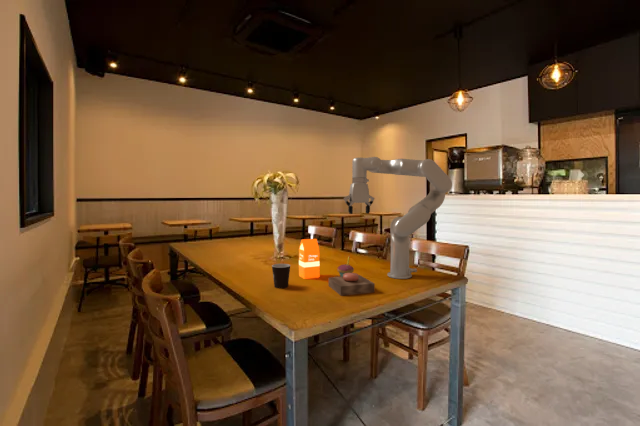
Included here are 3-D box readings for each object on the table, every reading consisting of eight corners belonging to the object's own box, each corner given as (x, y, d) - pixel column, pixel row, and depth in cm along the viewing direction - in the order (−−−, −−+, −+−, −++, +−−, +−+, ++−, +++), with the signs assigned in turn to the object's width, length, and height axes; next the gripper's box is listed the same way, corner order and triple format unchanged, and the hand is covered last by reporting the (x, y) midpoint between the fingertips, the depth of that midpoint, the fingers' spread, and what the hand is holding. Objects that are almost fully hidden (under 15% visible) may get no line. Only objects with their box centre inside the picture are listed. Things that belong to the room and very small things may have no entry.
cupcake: (353, 276, 173) (353, 253, 172) (353, 280, 164) (353, 257, 164) (337, 275, 174) (337, 253, 173) (336, 280, 165) (336, 256, 165)
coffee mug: (287, 289, 148) (287, 267, 148) (269, 288, 150) (269, 267, 150) (294, 282, 160) (294, 262, 159) (277, 281, 162) (277, 262, 161)
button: (354, 276, 154) (354, 272, 153) (360, 280, 147) (361, 275, 147) (340, 277, 151) (340, 273, 151) (346, 281, 145) (346, 277, 145)
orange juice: (298, 275, 174) (298, 238, 173) (313, 274, 178) (313, 237, 177) (304, 279, 167) (304, 240, 166) (319, 277, 171) (319, 239, 170)
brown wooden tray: (359, 283, 159) (359, 275, 159) (374, 292, 144) (374, 283, 144) (328, 285, 155) (328, 277, 154) (340, 295, 139) (340, 286, 139)
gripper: (371, 181, 178) (370, 213, 179) (341, 181, 173) (341, 213, 174) (377, 181, 171) (377, 213, 172) (346, 180, 166) (346, 214, 167)
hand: (359, 213), depth 173 cm, fingers open, 9 cm apart
